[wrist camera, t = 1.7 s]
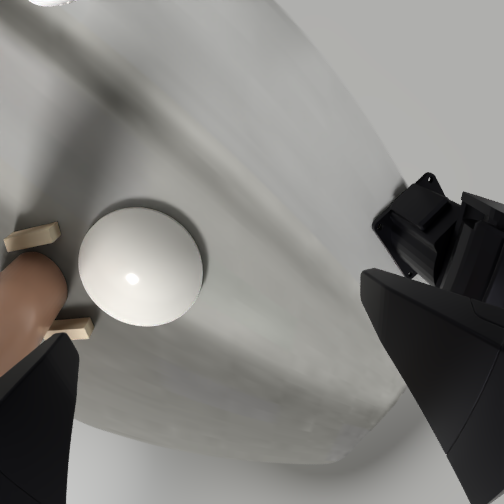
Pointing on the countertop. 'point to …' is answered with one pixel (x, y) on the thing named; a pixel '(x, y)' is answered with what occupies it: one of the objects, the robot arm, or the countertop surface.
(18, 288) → the salmon tan cylinder
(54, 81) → the countertop surface
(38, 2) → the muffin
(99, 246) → the white disc
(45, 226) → the wooden blocks
